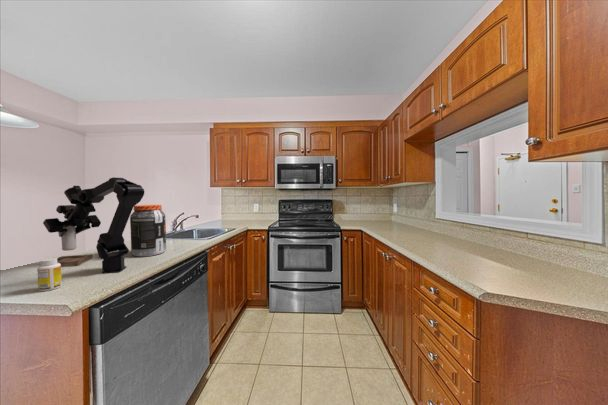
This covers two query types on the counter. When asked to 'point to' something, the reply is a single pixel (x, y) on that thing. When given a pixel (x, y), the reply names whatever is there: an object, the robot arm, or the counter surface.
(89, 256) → the walnut tray
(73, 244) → the beverage can
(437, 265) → the counter surface
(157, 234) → the supplement tub
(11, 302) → the counter surface
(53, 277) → the supplement bottle
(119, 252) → the robot arm
